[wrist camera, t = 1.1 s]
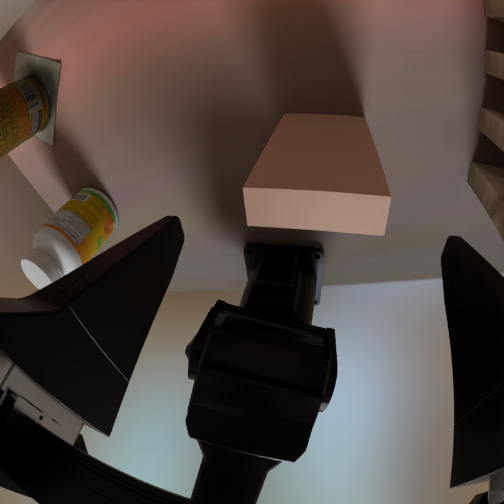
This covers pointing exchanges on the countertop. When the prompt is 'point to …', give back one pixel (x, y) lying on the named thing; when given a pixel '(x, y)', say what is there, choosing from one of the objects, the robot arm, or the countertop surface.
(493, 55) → the domino
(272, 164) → the domino
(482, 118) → the domino
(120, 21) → the countertop surface
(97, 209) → the supplement bottle
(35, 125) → the condiment
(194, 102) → the countertop surface
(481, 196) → the domino
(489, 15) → the domino
